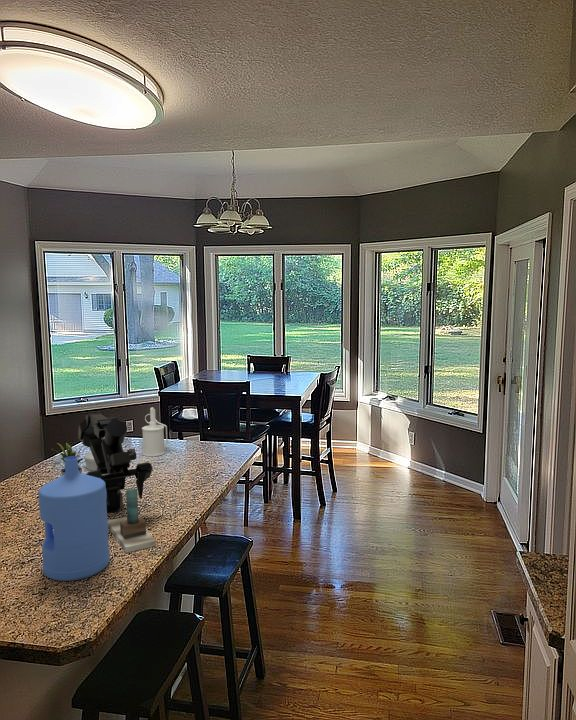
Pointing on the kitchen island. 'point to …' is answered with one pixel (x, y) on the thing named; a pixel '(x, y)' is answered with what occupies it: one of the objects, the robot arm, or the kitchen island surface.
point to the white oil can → (153, 436)
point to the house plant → (69, 453)
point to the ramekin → (90, 462)
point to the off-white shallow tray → (132, 542)
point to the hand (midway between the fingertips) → (125, 501)
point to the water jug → (74, 525)
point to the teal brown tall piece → (132, 517)
